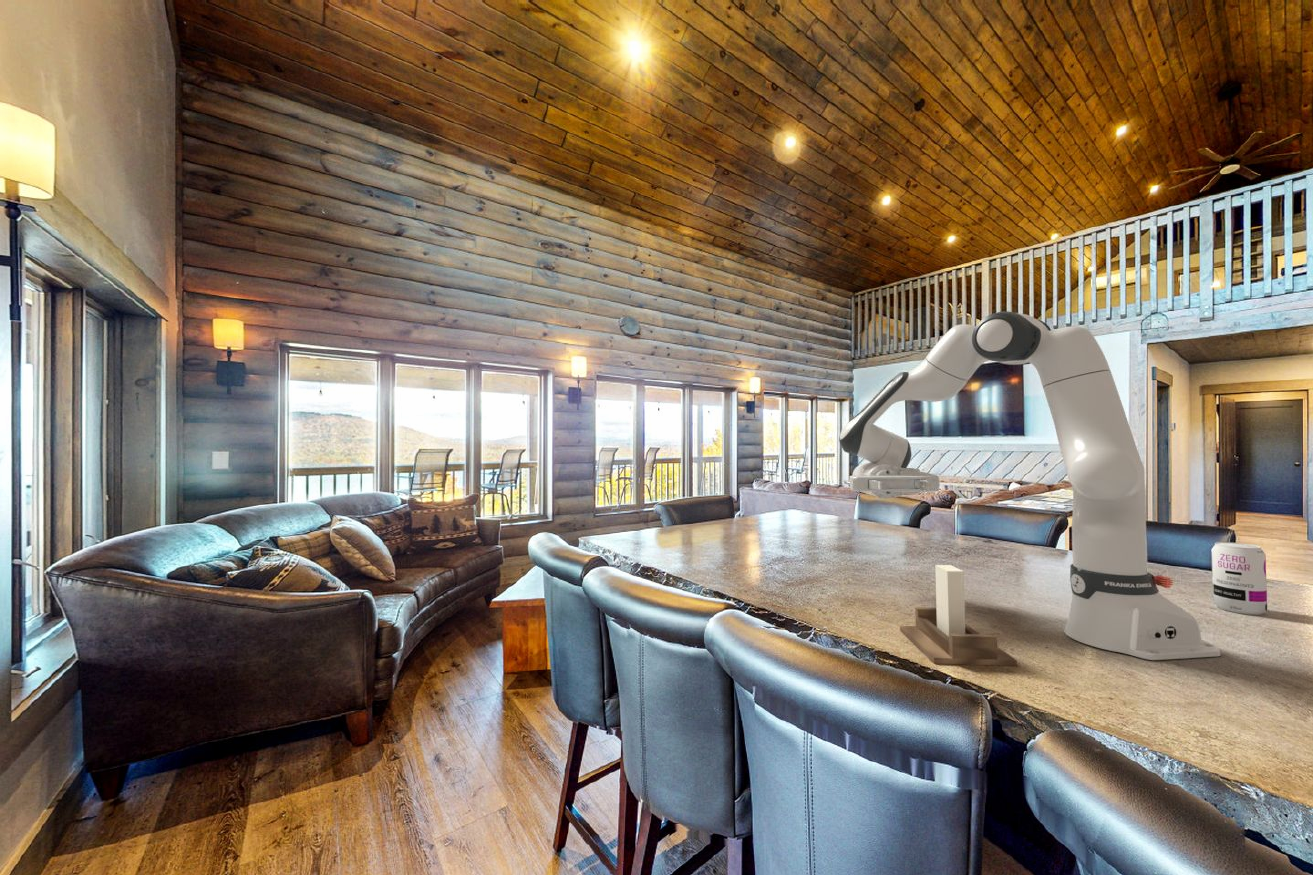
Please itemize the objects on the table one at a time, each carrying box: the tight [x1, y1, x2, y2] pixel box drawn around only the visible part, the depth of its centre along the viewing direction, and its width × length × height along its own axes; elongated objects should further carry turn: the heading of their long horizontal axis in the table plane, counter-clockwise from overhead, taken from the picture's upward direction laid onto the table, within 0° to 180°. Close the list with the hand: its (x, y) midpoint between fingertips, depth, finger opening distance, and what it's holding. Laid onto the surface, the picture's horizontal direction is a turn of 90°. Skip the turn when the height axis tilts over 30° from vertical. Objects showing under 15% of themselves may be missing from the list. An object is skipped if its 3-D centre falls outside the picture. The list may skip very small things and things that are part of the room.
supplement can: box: [1210, 541, 1268, 616], centre depth 116 cm, size 8×8×15 cm
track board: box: [899, 606, 1018, 667], centre depth 98 cm, size 14×16×5 cm
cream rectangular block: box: [934, 564, 966, 637], centre depth 99 cm, size 3×5×14 cm, turn 175°
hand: (904, 485), depth 115 cm, fingers open, 8 cm apart
